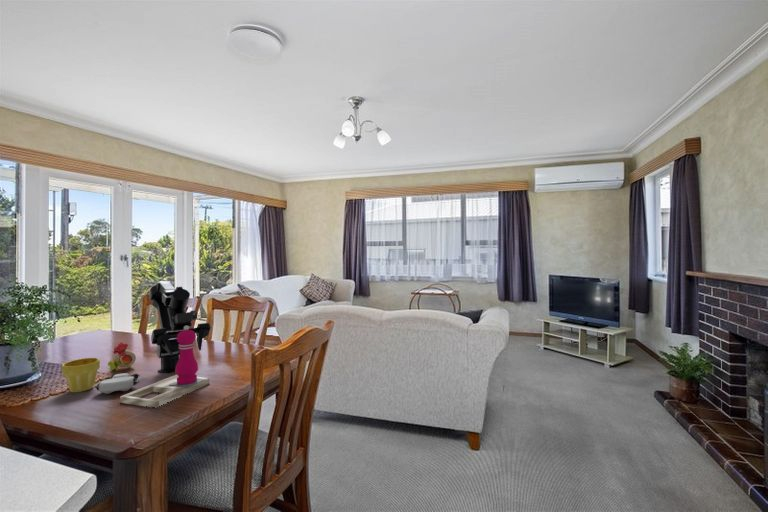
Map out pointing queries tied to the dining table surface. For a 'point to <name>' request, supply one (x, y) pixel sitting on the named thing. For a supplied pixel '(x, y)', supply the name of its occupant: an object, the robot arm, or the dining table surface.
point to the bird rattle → (126, 359)
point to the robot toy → (117, 383)
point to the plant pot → (81, 373)
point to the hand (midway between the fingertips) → (186, 352)
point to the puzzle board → (165, 387)
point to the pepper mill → (186, 357)
